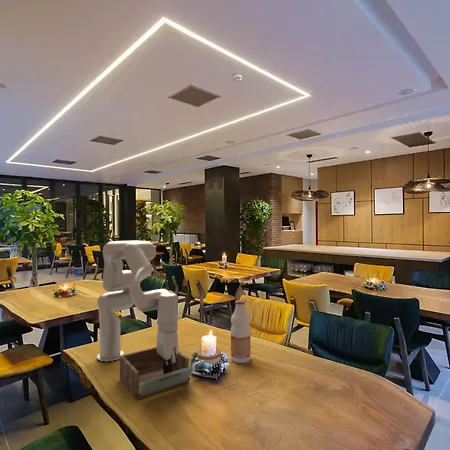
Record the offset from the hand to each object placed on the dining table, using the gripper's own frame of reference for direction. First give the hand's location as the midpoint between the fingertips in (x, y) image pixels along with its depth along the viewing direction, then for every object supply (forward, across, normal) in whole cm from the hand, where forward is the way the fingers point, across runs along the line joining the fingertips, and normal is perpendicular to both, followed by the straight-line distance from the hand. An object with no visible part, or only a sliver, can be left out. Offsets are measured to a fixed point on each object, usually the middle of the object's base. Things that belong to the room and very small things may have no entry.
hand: (167, 373), depth 123 cm
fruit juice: (+8, -9, +42) cm, 44 cm away
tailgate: (+6, -3, 0) cm, 7 cm away
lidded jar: (+8, -9, +24) cm, 27 cm away
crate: (+8, -13, 0) cm, 15 cm away
